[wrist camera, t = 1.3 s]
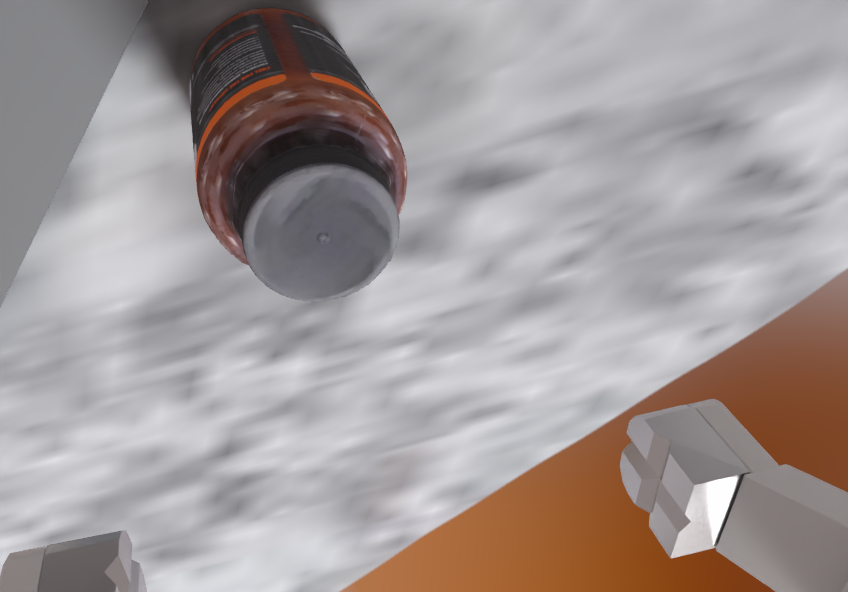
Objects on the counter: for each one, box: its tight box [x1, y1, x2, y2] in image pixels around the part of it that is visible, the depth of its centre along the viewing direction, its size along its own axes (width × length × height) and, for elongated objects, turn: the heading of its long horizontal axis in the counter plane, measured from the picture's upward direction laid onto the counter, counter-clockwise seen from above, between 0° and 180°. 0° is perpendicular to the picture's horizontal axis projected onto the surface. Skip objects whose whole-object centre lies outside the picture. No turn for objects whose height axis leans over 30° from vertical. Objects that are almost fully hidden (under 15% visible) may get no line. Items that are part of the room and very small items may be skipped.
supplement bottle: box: [189, 8, 407, 302], centre depth 22 cm, size 6×6×11 cm
